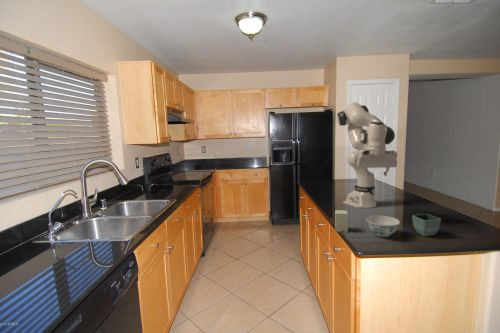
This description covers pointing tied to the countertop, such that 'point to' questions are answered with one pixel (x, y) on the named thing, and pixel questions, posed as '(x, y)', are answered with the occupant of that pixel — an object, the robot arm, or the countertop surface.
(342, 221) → the sage block
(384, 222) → the chinaware
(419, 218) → the flower pot
